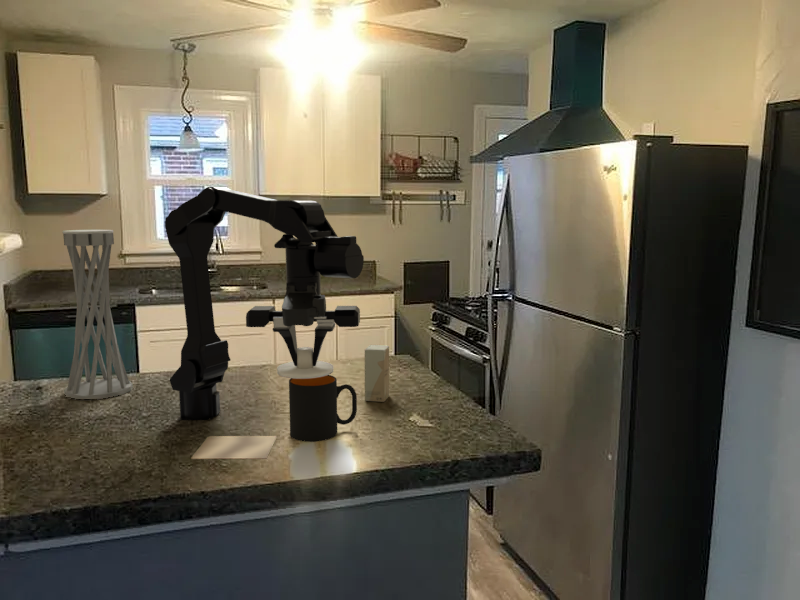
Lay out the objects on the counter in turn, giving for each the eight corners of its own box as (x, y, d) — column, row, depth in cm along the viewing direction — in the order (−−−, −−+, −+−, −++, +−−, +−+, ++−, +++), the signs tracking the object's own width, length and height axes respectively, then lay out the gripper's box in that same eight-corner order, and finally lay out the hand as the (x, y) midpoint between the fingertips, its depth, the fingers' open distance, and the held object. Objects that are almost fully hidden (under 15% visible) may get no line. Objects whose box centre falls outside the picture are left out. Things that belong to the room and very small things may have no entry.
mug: (362, 439, 114) (362, 381, 112) (294, 447, 110) (292, 387, 108) (351, 424, 121) (350, 370, 120) (286, 431, 118) (285, 375, 116)
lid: (282, 364, 117) (282, 342, 116) (336, 364, 117) (335, 342, 116) (272, 378, 107) (271, 355, 107) (330, 378, 107) (329, 355, 107)
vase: (117, 379, 152) (108, 228, 147) (143, 390, 143) (133, 230, 137) (55, 391, 142) (42, 230, 137) (78, 404, 133) (65, 232, 128)
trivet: (190, 462, 103) (190, 458, 103) (208, 439, 113) (208, 436, 113) (266, 461, 104) (266, 458, 103) (277, 439, 113) (277, 436, 113)
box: (384, 402, 135) (384, 350, 133) (364, 401, 135) (363, 349, 134) (389, 395, 140) (389, 344, 138) (370, 394, 140) (369, 344, 139)
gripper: (236, 281, 102) (239, 378, 104) (355, 280, 102) (356, 377, 104) (252, 273, 113) (255, 361, 115) (359, 273, 113) (360, 361, 115)
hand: (305, 365), depth 112 cm, fingers closed on lid, 3 cm apart
